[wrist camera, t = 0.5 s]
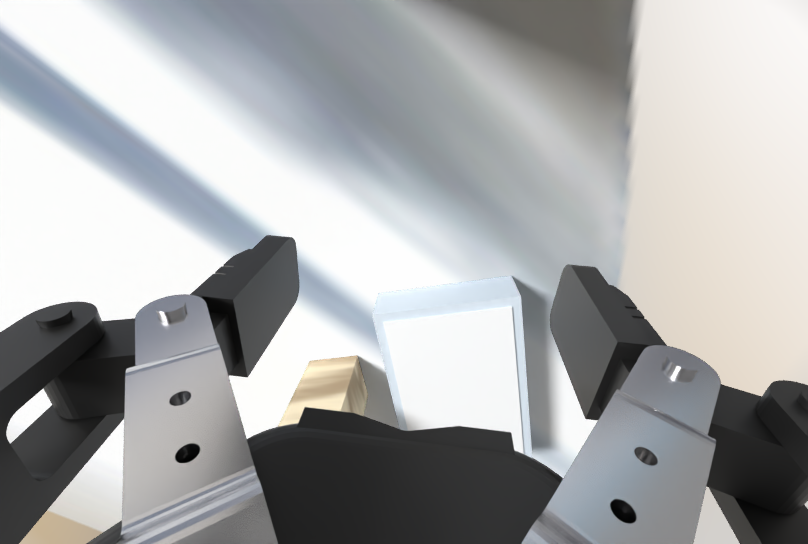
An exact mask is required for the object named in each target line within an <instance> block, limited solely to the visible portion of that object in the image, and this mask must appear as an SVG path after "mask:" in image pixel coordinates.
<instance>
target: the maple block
mask: <svg viewBox="0 0 808 544" xmlns="http://www.w3.org/2000/svg"><path fill="white" fill-rule="evenodd" d="M367 398H368V393H367V389H366V386H365V382H364V378H363V374H362V371H361V367H360V363H359V360H358V356H350V357H341V358H332V359H323V360H314V361H310V362H309V364H308V366H307V368H306V370H305V372H304V374H303V376H302V378H301V380H300V382H299V384H298V386H297V388H296V390H295V392H294V395H293V397H292V399H291V401H290V403H289V405H288V407H287V409H286V411H285V413H284V415H283V417H282V419H281V421H280V423H279V425H278V427H279V426H284V425H289V424H295V423H298V422H299V420H300V417H301V415H302V413H303V410H304V408H305V407H309V408H318V409H326V410H334V411H342V412H350V413H356V414H358V415H361V416H364V411H365V407H366V402H367Z"/></svg>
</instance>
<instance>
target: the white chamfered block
mask: <svg viewBox="0 0 808 544" xmlns="http://www.w3.org/2000/svg"><path fill="white" fill-rule="evenodd" d="M372 317H373V321H374V325H375V329H376V333H377V337H378V341H379V346H380V350H381V354H382V358H383V362H384V366H385V371H386V375H387V379H388V383H389V387H390V391H391V396H392V400H393V404H394V408H395V412H396V416H397V420H398V425H399V429H400V430H404V431H413V430H423V429H433V428H443V427H454V426H464V427H472V428H480V429H488V430H496V431H505V432H511V434H512V440H513V445H514V450H515V451H518V452H520V453H523V454H525V455H527V456H529V457H531V458H532V446H531V432H530V418H529V403H528V389H527V375H526V360H525V346H524V332H523V317H522V303H521V295H520V293H519V291H518V289H517V287H516V284H515V282H514V280H513V278H512V276H505V277H497V278H490V279H482V280H475V281H467V282H460V283H452V284H445V285H437V286H430V287H422V288H415V289H407V290H400V291H392V292H385V293H378V296H377V300H376V303H375V307H374V310H373V313H372Z"/></svg>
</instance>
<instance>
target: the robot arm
mask: <svg viewBox="0 0 808 544" xmlns="http://www.w3.org/2000/svg"><path fill="white" fill-rule="evenodd" d="M298 293H299V274H298V263H297V251H296V243H295V240H294V239H293V238H292V237H281V236H271V235H267V236H266V237H264V238H263V239H262V240H261V241H260V242H259V243H258V244H257V245H256V246H255V247H254V248H253V249H248V250H246V251H243V252H241V253H239V254H237V255H235V256H233V257H232V258H231V259H230V260H228V261H227V262H226V263H225V264H224V266H223V267H221V268H219V269H218V270H217V271H216V272H215V274H213V275H212V276H210V277H209V278H208V279H207V280H206V281H205V282H204V283H203V284H201V285H200V286H199V287H198V288H197V289H196V290H195V291H194V292H192V293H191V294H190V295H174V296H168V297H164V298H161V299H158V300H156V301H153V302H151V303H149V304H148V305H146V306H144V307H143V308H142V309H141V310H140V311H139V312H138V313H137V315H136V317H135V319H124V320H112V321H101V318H100V316H99V313H98V311H97V308H96V307H95V306H94V305H93V304H90V303H86V302H68V303H61V304H56V305H53V306H49V307H46V308H43V309H40V310H38V311H35V312H33V313H31V314H29V315H27V316H26V317H24V318H22V319H21V320H19V321H18V322H16V323H14V324H13V325H11V326H10V327H8V328H7V329H5V330H3V331H2V332H0V544H19V543H20V542H21V540H22V539H23V538H24V537H25V536H26V534H27V533H28V532H29V531H30V530H31V529H32V527H33V526H34V525H35V524H36V523H37V521H38V520H39V519H40V518H41V517H42V515H43V514H44V513H45V512H46V511H47V510H48V508H49V507H50V506H51V505H52V504H53V502H54V501H55V500H56V499H57V498H58V496H59V495H60V494H61V493H62V492H63V490H64V489H65V488H66V487H67V486H68V484H69V483H70V482H71V481H72V480H73V479H74V477H75V476H76V475H77V474H78V473H79V471H80V470H81V469H82V468H83V467H84V465H85V464H86V463H87V462H88V461H89V459H90V458H91V457H92V456H93V455H94V453H95V452H96V451H97V450H98V449H99V448H100V446H101V445H102V444H103V443H104V442H105V440H106V439H107V438H108V437H109V436H110V434H111V433H112V432H113V431H114V430H115V428H116V427H117V426H118V425H119V424H120V422H121V421H122V420H123V419H124V457H123V501H122V521H120V522H119V523H117V524H116V525H114V526H113V527H111V528H110V529H108V530H106V531H105V532H103V533H102V534H100V535H99V536H97V537H96V538H94V539H93V540H91V541H90V542H88V543H87V544H693V542H694V538H695V533H696V529H697V525H698V520H699V516H700V512H701V507H702V502H703V498H704V494H705V490H706V486H707V487H709V488H710V490H711V492H712V494H713V496H714V498H715V499H716V501H717V503H718V505H719V507H720V508H721V510H722V512H723V514H724V515H725V517H726V519H727V521H728V523H729V524H730V526H731V528H732V530H733V532H734V534H735V535H736V537H737V539H738V541H739V543H740V544H808V509H807V508H806V507H805V505H804V504H805V503H806V502H807V501H808V385H805V384H801V383H798V382H793V381H784V380H783V381H775V382H773V383H771V385H770V386H769V387H768V389H767V390H766V392H765V393H764V395H763V396H762V397H761V396H758V395H755V394H751V393H748V392H744V391H741V390H738V389H734V388H731V387H728V386H724V385H722V384H721V382H720V378H719V376H718V374H717V373H716V372H715V371H714V369H712V368H711V367H710V366H709V365H708V364H707V363H706V362H704V361H703V360H701V359H700V358H698V357H696V356H694V355H692V354H690V353H688V352H686V351H683V350H681V349H677V348H674V347H670V346H667V345H666V344H665V343H664V341H663V340H662V339H661V337H660V336H659V335H658V334H657V332H656V331H655V330H654V329H653V327H652V326H651V325H650V323H649V322H648V321H647V320H646V319H644V316H643V315H642V313H641V312H640V311H639V310H637V307H636V306H635V304H634V303H633V302H632V300H631V299H630V298H629V297H628V296H627V295H626V294H624V293H623V292H621V291H620V290H619V289H617V288H616V287H614V286H612V285H609V284H608V283H607V282H606V280H605V279H604V278H603V276H602V275H601V274H600V272H599V271H598V269H597V268H595V267H588V266H578V265H566V266H565V268H564V270H563V272H562V275H561V278H560V282H559V285H558V289H557V292H556V295H555V299H554V302H553V306H552V309H551V314H550V328H551V331H552V334H553V337H554V339H555V342H556V344H557V347H558V349H559V352H560V355H561V357H562V360H563V362H564V365H565V367H566V370H567V373H568V375H569V378H570V380H571V383H572V385H573V388H574V390H575V393H576V396H577V398H578V401H579V403H580V406H581V408H582V411H583V414H584V416H585V419H591V420H598V422H597V423H596V425H595V427H594V428H593V430H592V432H591V433H590V435H589V437H588V438H587V440H586V442H585V443H584V445H583V447H582V448H581V450H580V452H579V453H578V455H577V457H576V458H575V460H574V462H573V463H572V465H571V467H570V468H569V470H568V472H567V473H566V475H565V477H564V478H562V477H560V476H559V475H558V474H557V473H555V472H554V471H552V470H551V469H550V468H548V467H547V466H545V465H544V464H542V463H540V462H538V461H537V460H535V459H533V458H531V457H529V456H527V455H525V454H523V453H520V452H518V451H515V450H514V445H513V440H512V434H511V432H505V431H496V430H488V429H480V428H472V427H464V426H454V427H443V428H433V429H423V430H413V431H404V430H400V429H397V428H394V427H392V426H389V425H386V424H383V423H381V422H378V421H375V420H372V419H370V418H367V417H364V416H361V415H358V414H356V413H350V412H342V411H334V410H326V409H318V408H309V407H305V408H304V410H303V413H302V415H301V417H300V420H299V422H298V423H295V424H289V425H284V426H279V427H276V428H272V429H269V430H266V431H264V432H261V433H259V434H256V435H254V436H252V437H250V438H248V439H246V435H245V432H244V428H243V425H242V422H241V418H240V415H239V411H238V408H237V404H236V401H235V397H234V394H233V390H232V387H231V383H230V380H229V375H233V376H241V377H248V376H249V374H250V373H251V371H252V370H253V368H254V367H255V365H256V363H257V362H258V360H259V359H260V357H261V356H262V354H263V353H264V351H265V349H266V348H267V346H268V345H269V343H270V342H271V340H272V339H273V337H274V335H275V334H276V332H277V331H278V329H279V328H280V326H281V325H282V323H283V321H284V320H285V318H286V317H287V315H288V314H289V312H290V310H291V309H292V307H293V306H294V304H295V303H296V300H297V297H298ZM43 388H44V390H45V392H46V394H47V396H48V397H49V399H50V401H51V403H52V406H51V407H50V408H49V409H48V410H46V411H45V412H44V413H43V414H42V415H41V416H40V417H39V418H38V419H37V420H36V421H35V422H33V423H32V424H31V425H30V426H29V427H28V428H27V429H26V430H25V431H24V432H23V433H22V434H21V435H19V436H18V437H17V438H16V439H15V440H14V441H13V442H12V443H11V444H10V443H9V442H8V440H7V437H6V430H7V426H8V423H9V421H10V419H11V417H12V416H13V415H14V413H15V412H16V411H17V410H18V409H19V408H21V407H22V406H23V405H24V404H25V403H26V402H28V401H29V400H30V399H31V398H32V397H33V396H35V395H36V394H37V393H38V392H39V391H40V390H42V389H43Z"/></svg>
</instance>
